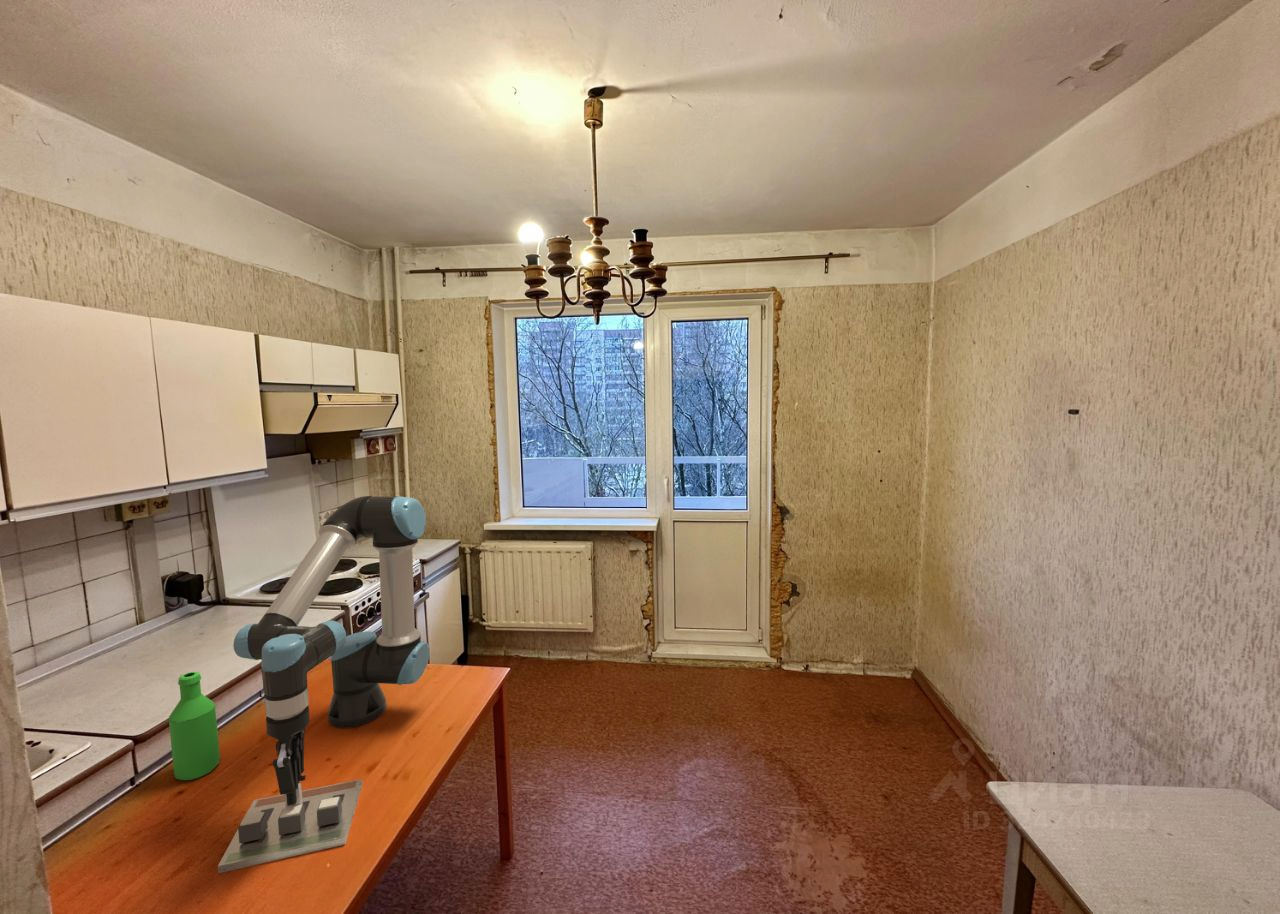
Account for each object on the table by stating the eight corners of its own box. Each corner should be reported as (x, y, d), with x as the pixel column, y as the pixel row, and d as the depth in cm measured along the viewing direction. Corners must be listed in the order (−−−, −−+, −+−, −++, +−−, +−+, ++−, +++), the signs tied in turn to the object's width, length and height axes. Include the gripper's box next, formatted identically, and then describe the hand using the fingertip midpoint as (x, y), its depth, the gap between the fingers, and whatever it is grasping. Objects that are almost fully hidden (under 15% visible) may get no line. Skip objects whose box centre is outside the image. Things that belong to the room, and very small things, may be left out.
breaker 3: (321, 816, 114) (320, 799, 114) (342, 811, 115) (341, 795, 115) (317, 826, 111) (316, 809, 111) (339, 822, 112) (337, 805, 112)
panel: (254, 806, 119) (253, 799, 119) (362, 784, 126) (361, 778, 126) (218, 873, 102) (217, 865, 102) (345, 844, 109) (344, 837, 109)
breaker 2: (283, 824, 112) (282, 807, 111) (305, 819, 113) (304, 803, 112) (279, 835, 109) (277, 817, 108) (301, 830, 110) (300, 813, 110)
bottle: (227, 764, 133) (219, 670, 130) (186, 787, 125) (177, 687, 122) (208, 754, 137) (200, 663, 134) (166, 776, 129) (157, 679, 126)
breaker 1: (245, 831, 110) (243, 814, 109) (267, 827, 111) (266, 810, 110) (239, 843, 107) (237, 825, 106) (262, 838, 108) (261, 820, 108)
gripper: (277, 696, 115) (284, 796, 118) (254, 732, 103) (263, 842, 105) (316, 691, 118) (322, 789, 120) (298, 725, 105) (305, 833, 108)
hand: (294, 814), depth 113 cm, fingers closed
